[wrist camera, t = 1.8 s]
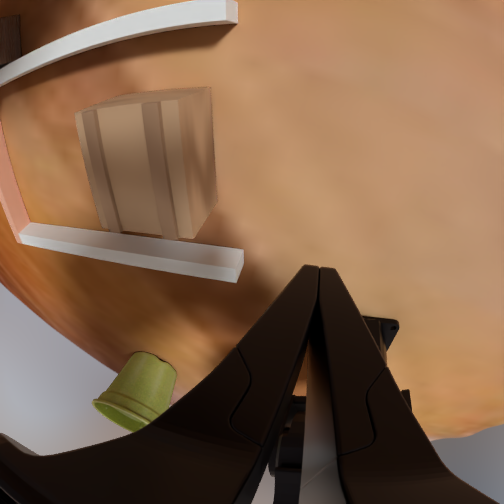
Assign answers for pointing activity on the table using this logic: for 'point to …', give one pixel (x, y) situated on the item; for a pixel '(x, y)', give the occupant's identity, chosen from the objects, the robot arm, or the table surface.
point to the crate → (151, 161)
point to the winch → (9, 40)
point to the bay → (106, 243)
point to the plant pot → (138, 392)
